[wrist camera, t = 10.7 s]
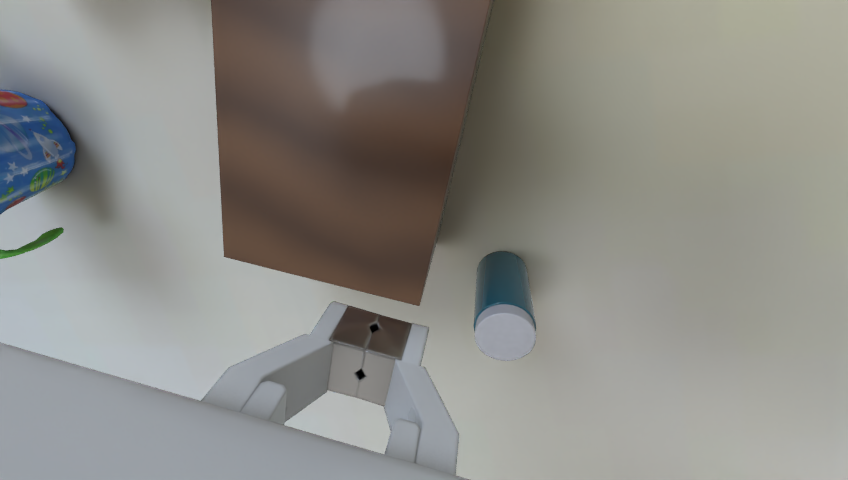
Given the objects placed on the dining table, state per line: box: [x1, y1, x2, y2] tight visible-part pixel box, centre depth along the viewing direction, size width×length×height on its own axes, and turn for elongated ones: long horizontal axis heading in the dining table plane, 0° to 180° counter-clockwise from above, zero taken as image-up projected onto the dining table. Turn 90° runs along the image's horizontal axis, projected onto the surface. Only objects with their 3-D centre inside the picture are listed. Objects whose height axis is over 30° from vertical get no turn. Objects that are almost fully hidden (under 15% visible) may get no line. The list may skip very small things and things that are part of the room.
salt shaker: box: [474, 252, 536, 361], centre depth 28 cm, size 4×4×8 cm
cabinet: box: [211, 0, 494, 306], centre depth 24 cm, size 18×13×9 cm
